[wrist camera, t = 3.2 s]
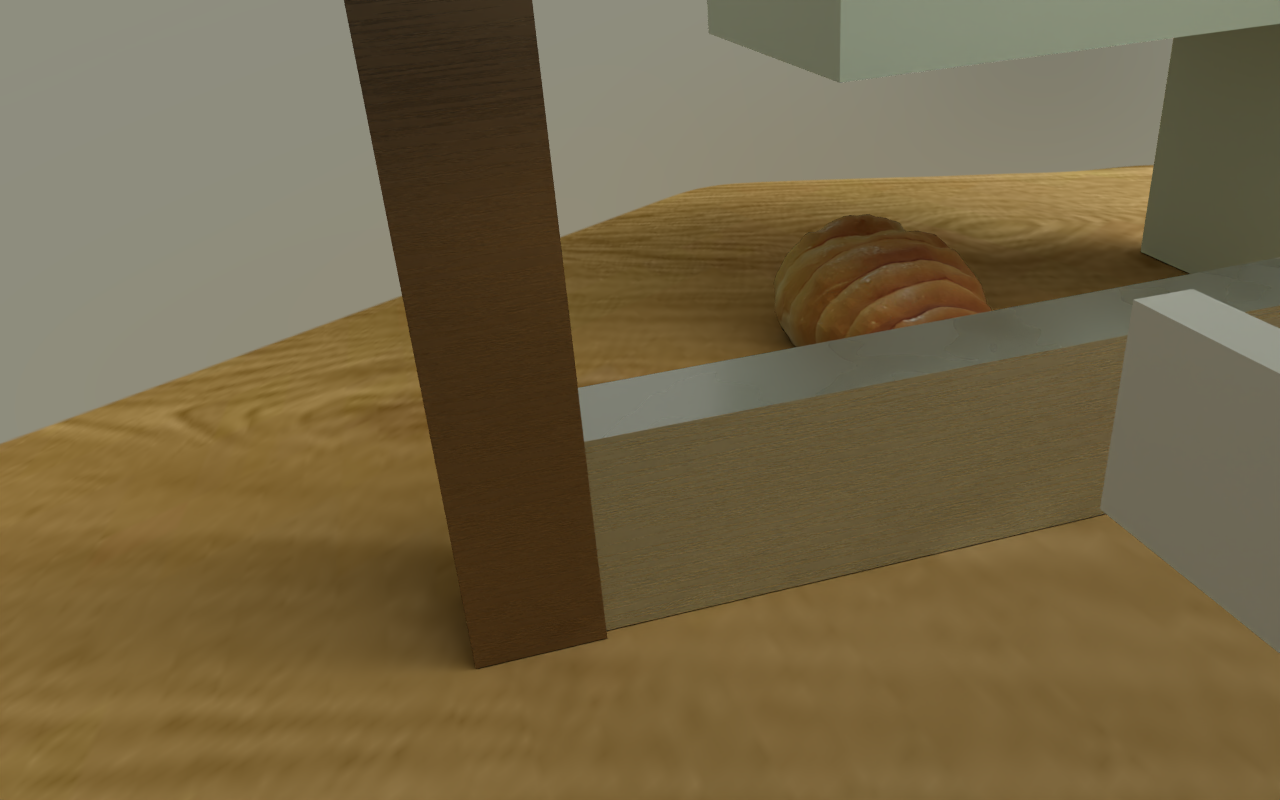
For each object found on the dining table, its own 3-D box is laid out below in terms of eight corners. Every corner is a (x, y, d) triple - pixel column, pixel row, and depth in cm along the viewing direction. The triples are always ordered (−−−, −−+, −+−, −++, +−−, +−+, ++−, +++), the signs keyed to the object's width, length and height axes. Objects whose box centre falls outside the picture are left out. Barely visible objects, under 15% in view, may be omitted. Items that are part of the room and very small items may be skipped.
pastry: (1052, 393, 32) (1064, 280, 30) (849, 432, 31) (849, 317, 30) (920, 291, 40) (924, 196, 39) (756, 318, 40) (752, 223, 38)
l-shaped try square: (1281, 408, 30) (1410, -130, 23) (1371, 457, 27) (1543, -133, 21) (461, 589, 25) (342, -20, 19) (475, 669, 23) (342, -6, 16)
